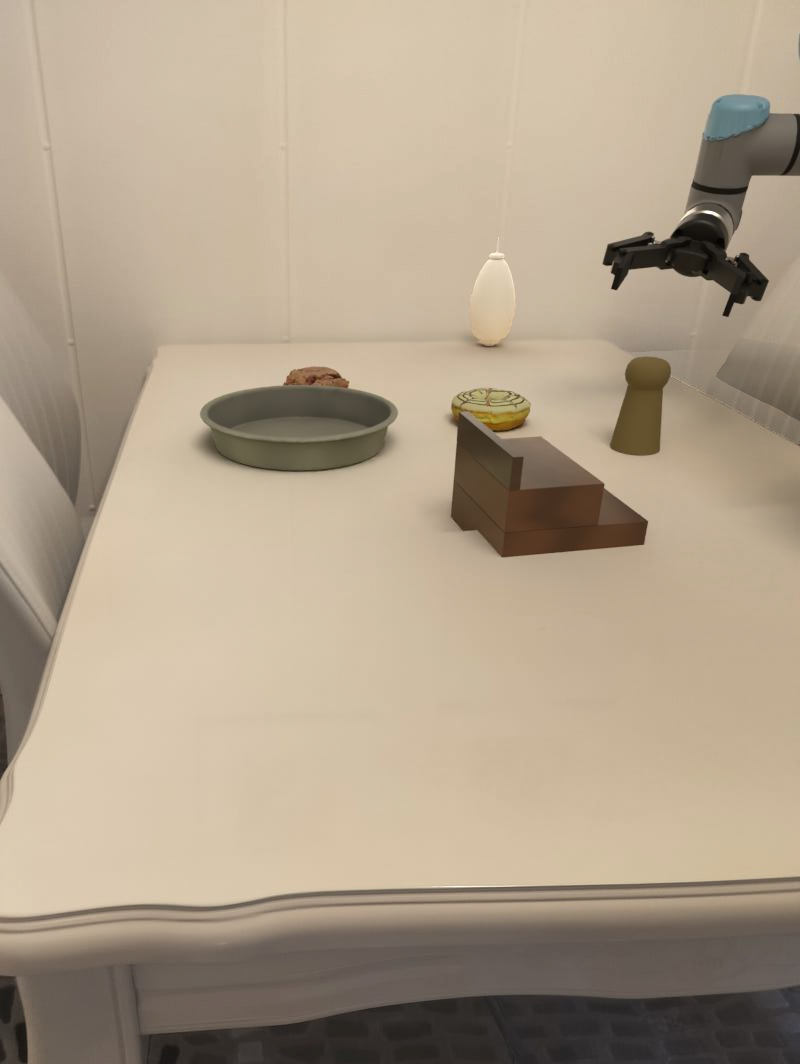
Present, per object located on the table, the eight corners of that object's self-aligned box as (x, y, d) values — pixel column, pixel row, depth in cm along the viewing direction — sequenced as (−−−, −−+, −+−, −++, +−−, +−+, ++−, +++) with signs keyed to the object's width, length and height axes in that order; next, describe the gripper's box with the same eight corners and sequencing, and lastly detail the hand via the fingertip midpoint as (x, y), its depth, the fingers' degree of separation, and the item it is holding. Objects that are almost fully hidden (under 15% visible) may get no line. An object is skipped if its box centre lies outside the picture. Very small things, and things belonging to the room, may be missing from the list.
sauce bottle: (458, 344, 166) (466, 236, 157) (485, 338, 171) (494, 233, 162) (492, 352, 161) (502, 241, 152) (519, 345, 166) (531, 237, 157)
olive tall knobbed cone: (602, 449, 115) (617, 359, 109) (619, 437, 119) (633, 350, 113) (651, 458, 112) (668, 366, 106) (666, 445, 116) (683, 356, 110)
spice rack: (575, 506, 98) (590, 404, 92) (641, 560, 86) (663, 447, 81) (450, 516, 95) (458, 411, 90) (500, 573, 84) (513, 457, 78)
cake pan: (407, 421, 125) (409, 388, 122) (380, 483, 104) (382, 444, 102) (234, 410, 129) (232, 378, 127) (174, 468, 108) (171, 430, 106)
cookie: (334, 379, 145) (334, 359, 143) (357, 396, 136) (357, 375, 134) (273, 383, 142) (273, 364, 140) (293, 401, 133) (292, 380, 132)
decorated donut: (530, 413, 128) (533, 386, 126) (526, 436, 119) (530, 407, 117) (455, 408, 130) (457, 381, 128) (446, 430, 121) (448, 401, 119)
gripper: (782, 289, 125) (765, 347, 110) (602, 248, 132) (564, 297, 117) (806, 232, 120) (792, 285, 105) (617, 193, 127) (580, 237, 112)
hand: (672, 292), depth 111 cm, fingers open, 13 cm apart
